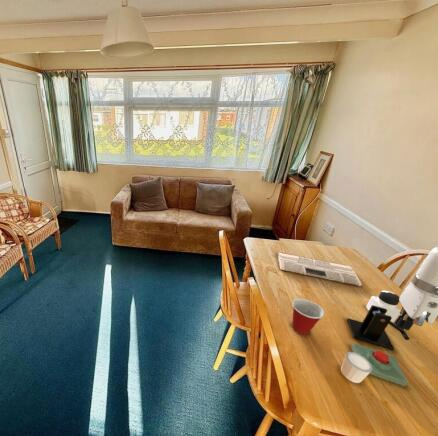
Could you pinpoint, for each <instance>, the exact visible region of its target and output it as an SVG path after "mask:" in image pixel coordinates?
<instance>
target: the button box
mask: <svg viewBox="0 0 438 436" xmlns="http://www.w3.org/2000/svg"><path fill="white" fill-rule="evenodd" d="M350 348H351V352H354V353H357V354H359V355H361V356H363V357H364V358H365V359H366V360H368V361H369V363H370V364H371V366H372V371H371V372H370V373H369V374H368V375H372V376H374V377H377V378H380V379H383V380H385V381H388V382H391V383H393V384H396V385H399V386H402V387H406V386H407V385H408V383H409V382H408V380H407V378H406V376H405V374H404V372H403V370H402V368H401V366H400V364H399V362H398V361H397V358H396V356H395V355H392V354H389V353H385V352H384V353H385V354H386V355H387V356H388V357H389V361H388V362H387V363H385V364H384V363H381V362H379V361H378V360H376V359H375V358H374V356H373V354H374V353H375V351H379V350H377V349H375V348H370V347H367V346H364V345H361V344H358V343H354V342H353V343H351V345H350Z"/></svg>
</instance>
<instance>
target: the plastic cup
mask: <svg viewBox="0 0 438 436" xmlns="http://www.w3.org/2000/svg"><path fill="white" fill-rule="evenodd" d="M291 305H292V310H293V311H292V312H293V313H292V323H291V324H292V325H291V326H292V328H293V330H294V331H295V332H296V333H298V334H301V335H308V334H309V333H310V331H311V330H313V328H314V327H315V326H316V324H317V323H318V322H319V321H320V320H321V319H322V318H324V316H325V310H324V309H323V308H322V307H321V306H320V305H319V304H317V303H315V301H311V300H309V299H304V298H296V299H293V300H292V302H291Z"/></svg>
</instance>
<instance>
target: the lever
mask: <svg viewBox="0 0 438 436" xmlns="http://www.w3.org/2000/svg"><path fill="white" fill-rule="evenodd" d="M376 312H377V313H381V314H384V313H383V312H382V311H380V310H379V309H378V310H375V311H373V314H375V313H376ZM384 315H385V314H384ZM388 325H389V326H391V327H393V328H394V329H395V330H397V331H398V332H399V333H400V334H401V336H402V337H403V339H404V340H406V341H409V340H410V336H409V335H408V334H407V332H406V330H405V329H402V328H398V327H397V326H396V325H395V322H394V323H393V322H391V321H390V322H389V324H388Z"/></svg>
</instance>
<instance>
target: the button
mask: <svg viewBox="0 0 438 436" xmlns="http://www.w3.org/2000/svg"><path fill="white" fill-rule="evenodd" d="M386 354H387V353H386ZM386 354H385V352H383V351H381V350H378V351H375V353H374V354H373V356H374V358H375V359H376V360H378V361H379V362H381V363H384V364H385V363H387V362H388V361H389V357H388V356H387V355H386Z"/></svg>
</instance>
